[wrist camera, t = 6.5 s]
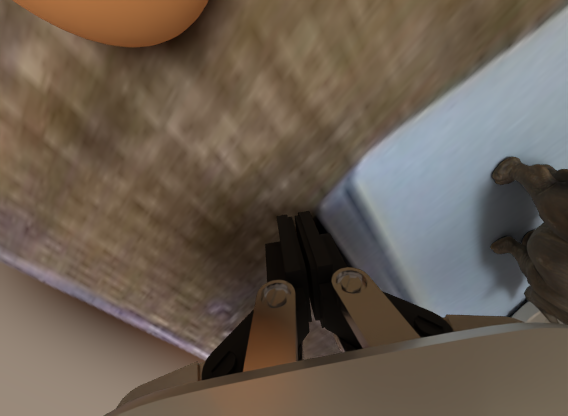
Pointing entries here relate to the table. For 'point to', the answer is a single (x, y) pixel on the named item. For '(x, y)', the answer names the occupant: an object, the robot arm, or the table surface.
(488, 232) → the table surface
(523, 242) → the rhino figurine
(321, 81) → the table surface
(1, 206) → the table surface
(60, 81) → the table surface
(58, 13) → the ball
